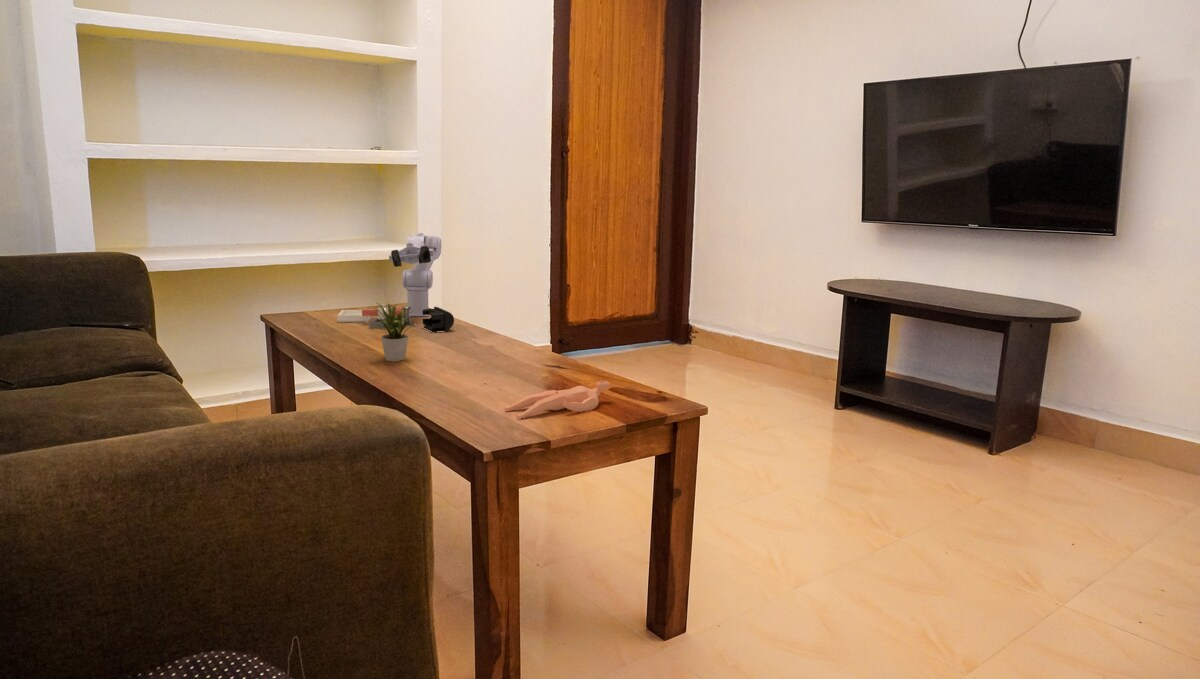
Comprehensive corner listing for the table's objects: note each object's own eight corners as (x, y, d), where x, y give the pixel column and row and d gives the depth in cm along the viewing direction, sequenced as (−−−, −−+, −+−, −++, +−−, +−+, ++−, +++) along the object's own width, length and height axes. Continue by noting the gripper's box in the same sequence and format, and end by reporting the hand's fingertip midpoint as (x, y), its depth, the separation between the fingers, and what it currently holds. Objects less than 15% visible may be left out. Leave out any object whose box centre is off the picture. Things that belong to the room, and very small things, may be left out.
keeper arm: (402, 315, 259) (402, 309, 259) (401, 316, 257) (401, 310, 256) (363, 314, 257) (362, 308, 257) (361, 316, 255) (361, 310, 254)
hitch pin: (378, 324, 256) (378, 303, 255) (390, 324, 257) (389, 303, 255) (377, 327, 253) (376, 305, 251) (388, 327, 253) (388, 305, 252)
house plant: (351, 360, 209) (349, 299, 206) (388, 350, 221) (386, 293, 218) (392, 367, 203) (391, 305, 199) (427, 357, 215) (427, 298, 211)
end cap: (454, 331, 250) (454, 310, 249) (433, 333, 246) (432, 312, 245) (443, 326, 258) (442, 305, 257) (422, 327, 255) (421, 307, 253)
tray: (342, 317, 267) (342, 310, 266) (371, 317, 268) (370, 310, 268) (337, 322, 257) (337, 315, 257) (367, 322, 259) (367, 315, 258)
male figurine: (498, 395, 171) (595, 373, 184) (500, 416, 172) (596, 393, 185) (521, 408, 162) (621, 384, 175) (523, 431, 163) (622, 405, 176)
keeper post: (401, 323, 260) (400, 306, 259) (413, 323, 261) (413, 306, 260) (400, 325, 257) (399, 308, 255) (412, 325, 257) (412, 308, 256)
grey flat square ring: (372, 323, 258) (372, 318, 258) (397, 323, 259) (397, 318, 259) (369, 328, 250) (369, 322, 250) (395, 328, 252) (395, 322, 251)
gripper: (390, 242, 263) (382, 252, 250) (433, 236, 263) (427, 246, 250) (394, 262, 265) (387, 274, 253) (437, 256, 266) (432, 268, 253)
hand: (407, 261), depth 252 cm, fingers open, 7 cm apart
